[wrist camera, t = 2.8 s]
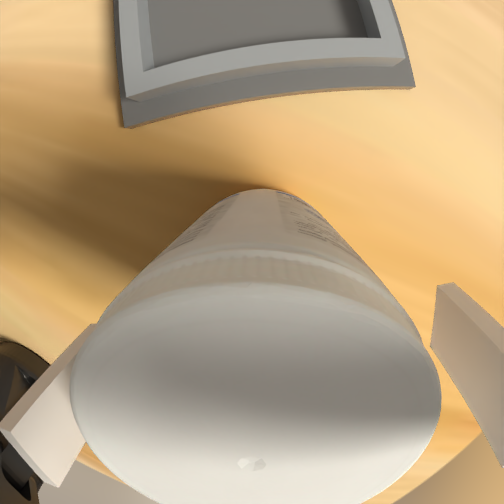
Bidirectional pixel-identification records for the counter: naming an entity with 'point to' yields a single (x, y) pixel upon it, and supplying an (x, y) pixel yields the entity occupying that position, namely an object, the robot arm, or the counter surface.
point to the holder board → (251, 52)
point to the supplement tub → (256, 367)
